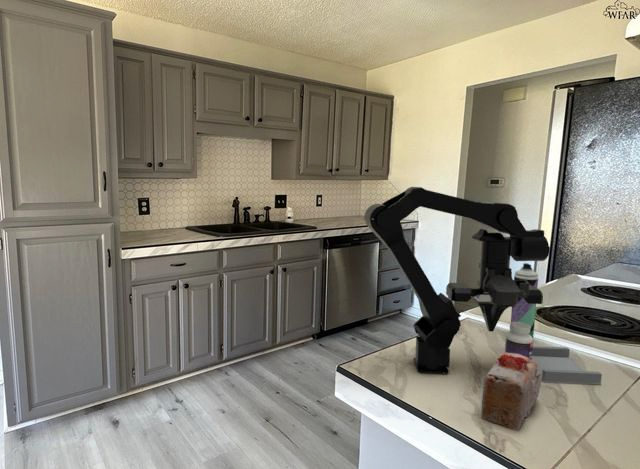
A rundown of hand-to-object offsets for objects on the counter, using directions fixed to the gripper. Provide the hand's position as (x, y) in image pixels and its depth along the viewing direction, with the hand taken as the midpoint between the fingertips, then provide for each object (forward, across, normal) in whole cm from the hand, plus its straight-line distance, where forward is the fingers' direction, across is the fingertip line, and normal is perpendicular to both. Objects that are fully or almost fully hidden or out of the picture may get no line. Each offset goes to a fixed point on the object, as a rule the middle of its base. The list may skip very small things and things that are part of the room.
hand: (490, 330), depth 87 cm
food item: (+8, -2, -17) cm, 19 cm away
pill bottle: (+8, +6, 0) cm, 10 cm away
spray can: (+8, +14, +17) cm, 24 cm away
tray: (+8, +14, 0) cm, 17 cm away
